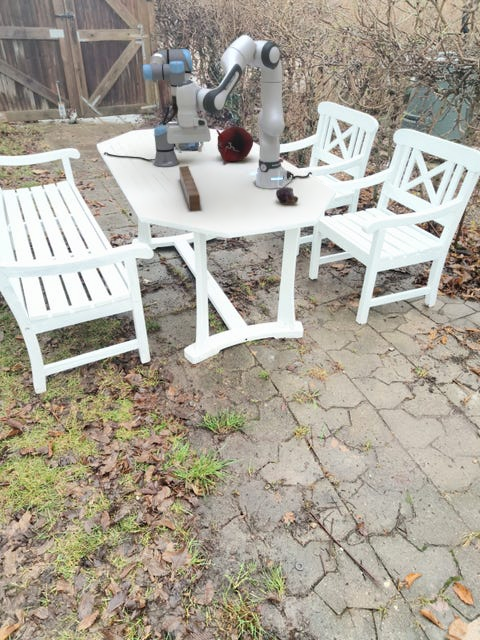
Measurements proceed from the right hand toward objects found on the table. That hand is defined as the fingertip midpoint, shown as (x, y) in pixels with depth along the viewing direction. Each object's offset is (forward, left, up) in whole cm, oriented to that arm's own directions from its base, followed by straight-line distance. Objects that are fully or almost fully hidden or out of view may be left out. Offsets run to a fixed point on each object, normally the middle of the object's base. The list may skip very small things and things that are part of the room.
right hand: (189, 152), depth 213 cm
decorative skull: (-84, -37, -27) cm, 96 cm away
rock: (-32, +35, -27) cm, 55 cm away
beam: (-14, -15, -27) cm, 34 cm away
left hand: (-28, -31, -2) cm, 42 cm away
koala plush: (-88, -84, -27) cm, 124 cm away
